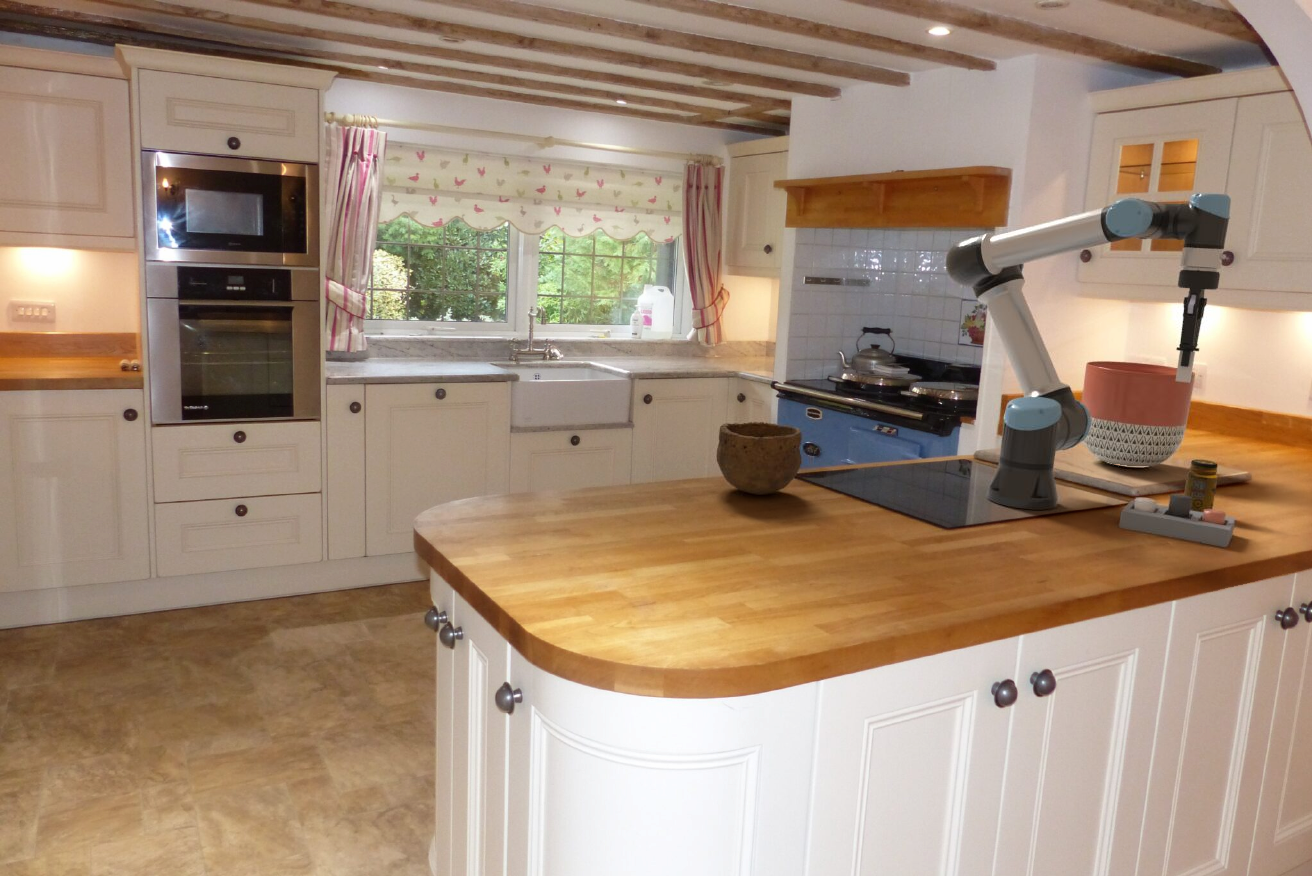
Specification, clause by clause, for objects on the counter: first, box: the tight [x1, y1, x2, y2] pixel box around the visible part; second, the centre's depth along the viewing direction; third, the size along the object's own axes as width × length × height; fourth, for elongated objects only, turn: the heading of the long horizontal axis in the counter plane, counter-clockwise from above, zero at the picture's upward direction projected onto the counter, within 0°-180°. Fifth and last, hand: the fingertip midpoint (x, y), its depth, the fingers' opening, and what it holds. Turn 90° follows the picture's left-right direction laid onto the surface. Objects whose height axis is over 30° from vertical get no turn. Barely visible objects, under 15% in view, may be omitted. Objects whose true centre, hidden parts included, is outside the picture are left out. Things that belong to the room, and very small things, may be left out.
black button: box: [1168, 493, 1192, 518], centre depth 210 cm, size 4×4×4 cm
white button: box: [1134, 496, 1157, 513], centre depth 214 cm, size 4×4×4 cm
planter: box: [1081, 360, 1196, 467], centre depth 273 cm, size 27×27×27 cm
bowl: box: [716, 421, 803, 496], centre depth 224 cm, size 19×19×15 cm
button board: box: [1118, 499, 1236, 548], centre depth 211 cm, size 20×12×4 cm, turn 56°
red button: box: [1202, 508, 1227, 525], centre depth 207 cm, size 4×4×4 cm
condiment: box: [1183, 459, 1219, 512], centre depth 226 cm, size 7×8×12 cm
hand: (1182, 381), depth 215 cm, fingers closed
